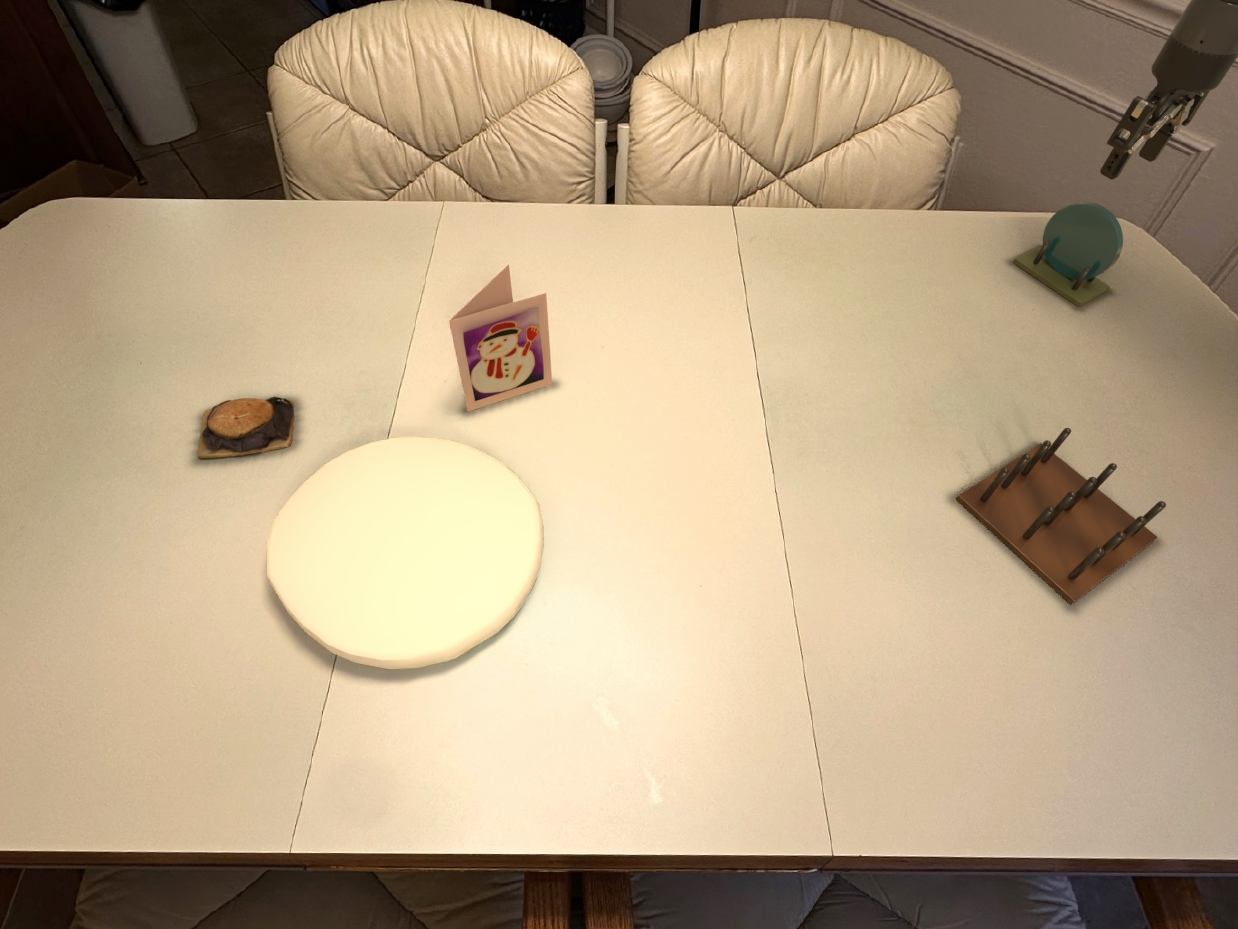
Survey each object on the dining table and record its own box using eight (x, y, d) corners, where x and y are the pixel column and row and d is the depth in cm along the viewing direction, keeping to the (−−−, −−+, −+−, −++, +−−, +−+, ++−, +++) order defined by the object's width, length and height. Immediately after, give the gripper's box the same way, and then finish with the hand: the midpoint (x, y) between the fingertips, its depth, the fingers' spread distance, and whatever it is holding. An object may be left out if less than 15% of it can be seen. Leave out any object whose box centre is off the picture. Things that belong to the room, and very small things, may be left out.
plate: (580, 473, 82) (476, 699, 66) (576, 504, 87) (478, 720, 72) (350, 390, 84) (198, 590, 69) (359, 425, 89) (220, 618, 74)
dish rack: (1038, 446, 92) (1065, 410, 87) (1153, 540, 84) (1192, 507, 79) (955, 499, 87) (979, 464, 82) (1070, 604, 79) (1105, 573, 74)
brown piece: (197, 463, 87) (183, 444, 84) (207, 410, 92) (194, 390, 89) (292, 451, 89) (281, 431, 86) (296, 399, 93) (286, 378, 90)
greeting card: (469, 416, 93) (451, 325, 81) (451, 376, 96) (431, 285, 85) (554, 388, 96) (549, 297, 84) (533, 351, 100) (525, 259, 88)
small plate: (1034, 251, 115) (1071, 187, 106) (1095, 291, 109) (1139, 227, 101) (1029, 253, 114) (1065, 189, 106) (1090, 294, 109) (1134, 230, 100)
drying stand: (1041, 248, 117) (1056, 221, 113) (1107, 291, 111) (1126, 264, 107) (1012, 262, 114) (1026, 236, 111) (1078, 307, 108) (1096, 280, 105)
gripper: (1204, 64, 81) (1119, 197, 94) (1273, 36, 86) (1184, 165, 99) (1142, 37, 85) (1069, 168, 98) (1213, 11, 90) (1134, 139, 103)
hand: (1127, 166), depth 98 cm, fingers open, 8 cm apart
